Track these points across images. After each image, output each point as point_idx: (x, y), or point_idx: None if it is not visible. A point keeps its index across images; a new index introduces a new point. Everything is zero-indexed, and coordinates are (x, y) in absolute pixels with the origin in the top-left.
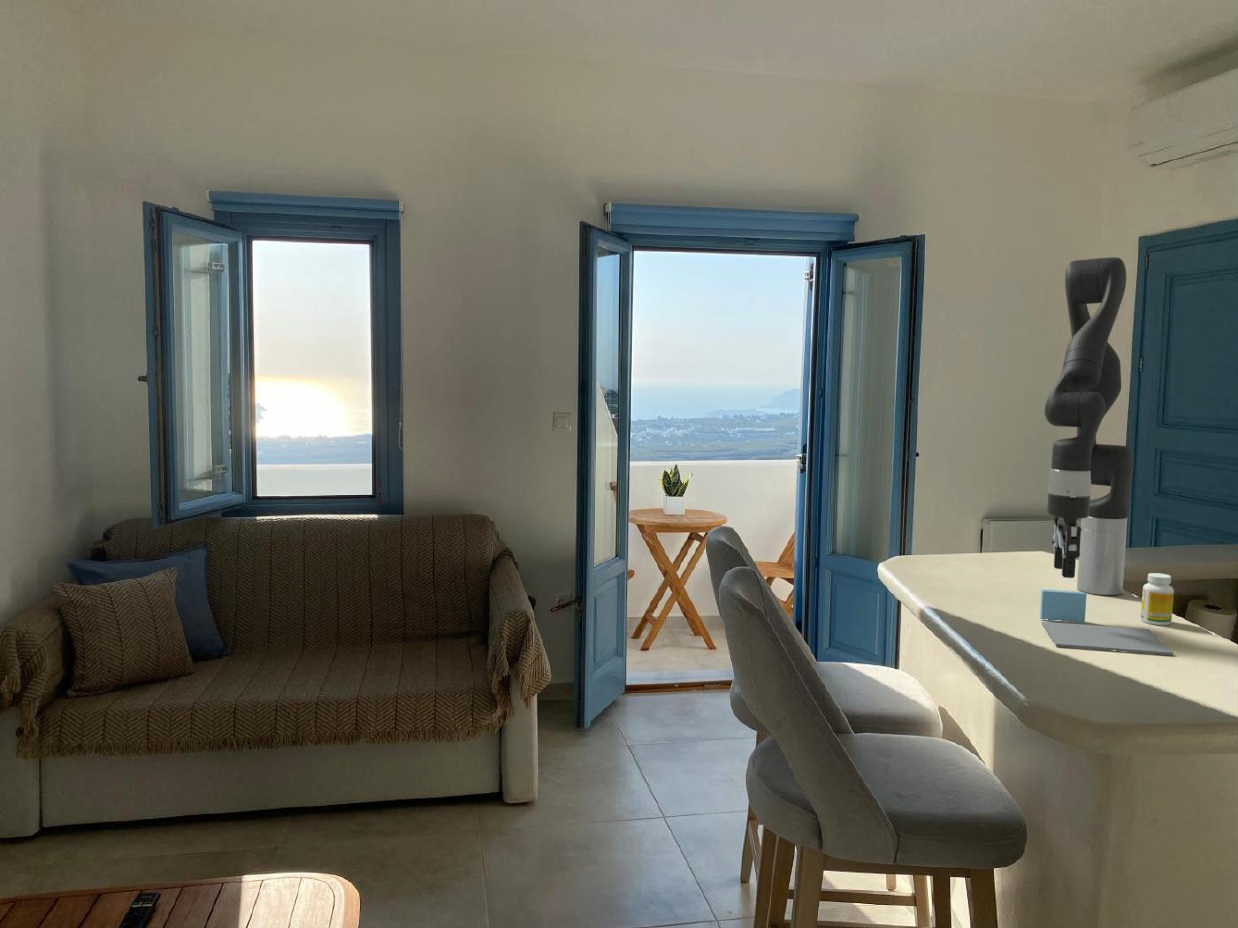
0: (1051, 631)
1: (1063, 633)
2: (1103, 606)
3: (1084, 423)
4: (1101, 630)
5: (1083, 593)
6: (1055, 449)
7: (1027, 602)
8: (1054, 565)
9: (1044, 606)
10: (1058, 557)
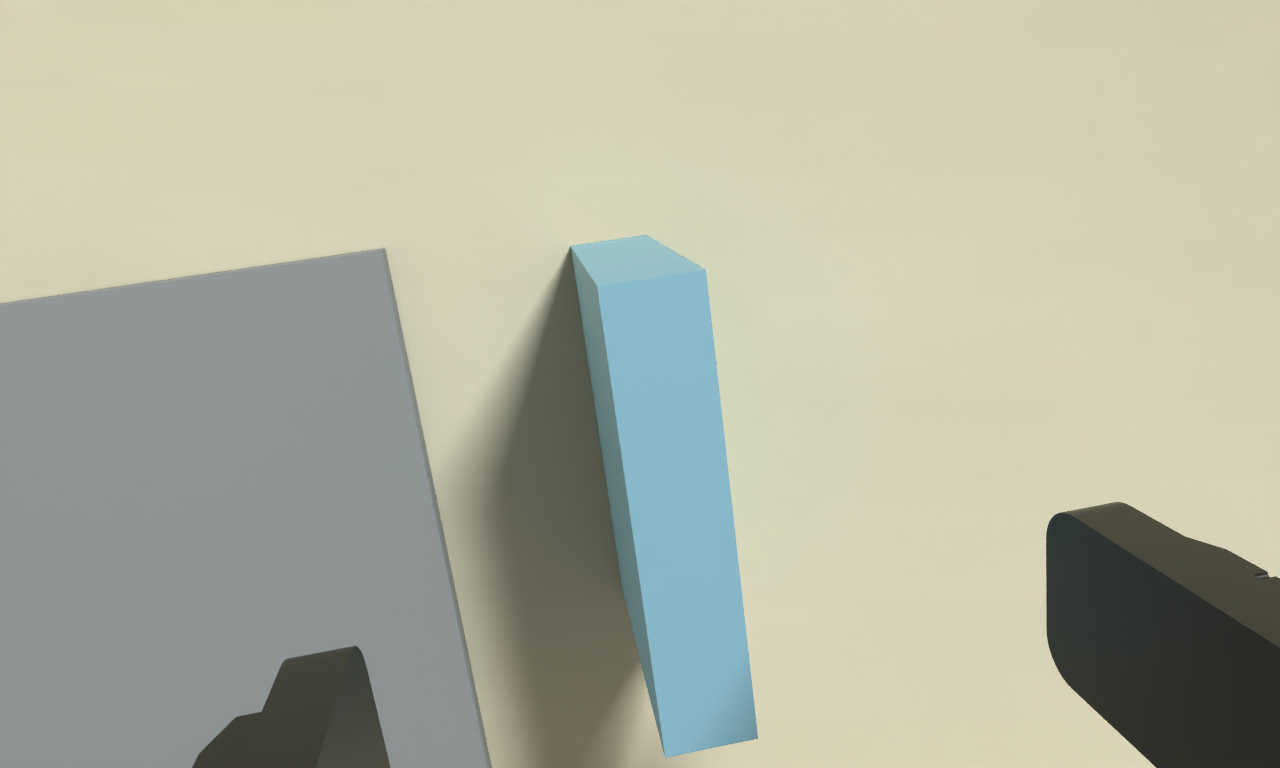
0: (20, 334)
1: (13, 438)
2: None
3: None
4: None
5: (681, 727)
6: None
7: (1199, 133)
8: (1082, 522)
9: (584, 287)
10: (1190, 660)
